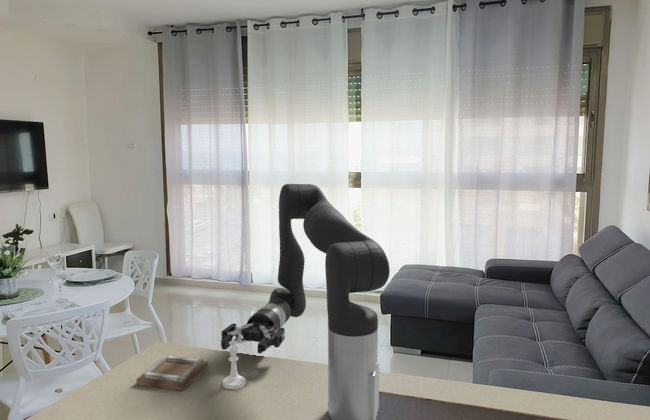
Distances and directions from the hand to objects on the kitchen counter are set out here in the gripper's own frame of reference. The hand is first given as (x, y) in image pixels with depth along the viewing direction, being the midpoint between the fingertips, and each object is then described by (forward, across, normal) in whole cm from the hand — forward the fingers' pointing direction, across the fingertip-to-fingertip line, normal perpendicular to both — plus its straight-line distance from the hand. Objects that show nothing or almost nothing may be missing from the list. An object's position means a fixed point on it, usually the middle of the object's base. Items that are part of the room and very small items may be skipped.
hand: (241, 347), depth 106 cm
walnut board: (+4, -15, +6) cm, 16 cm away
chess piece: (+4, 0, +7) cm, 8 cm away
